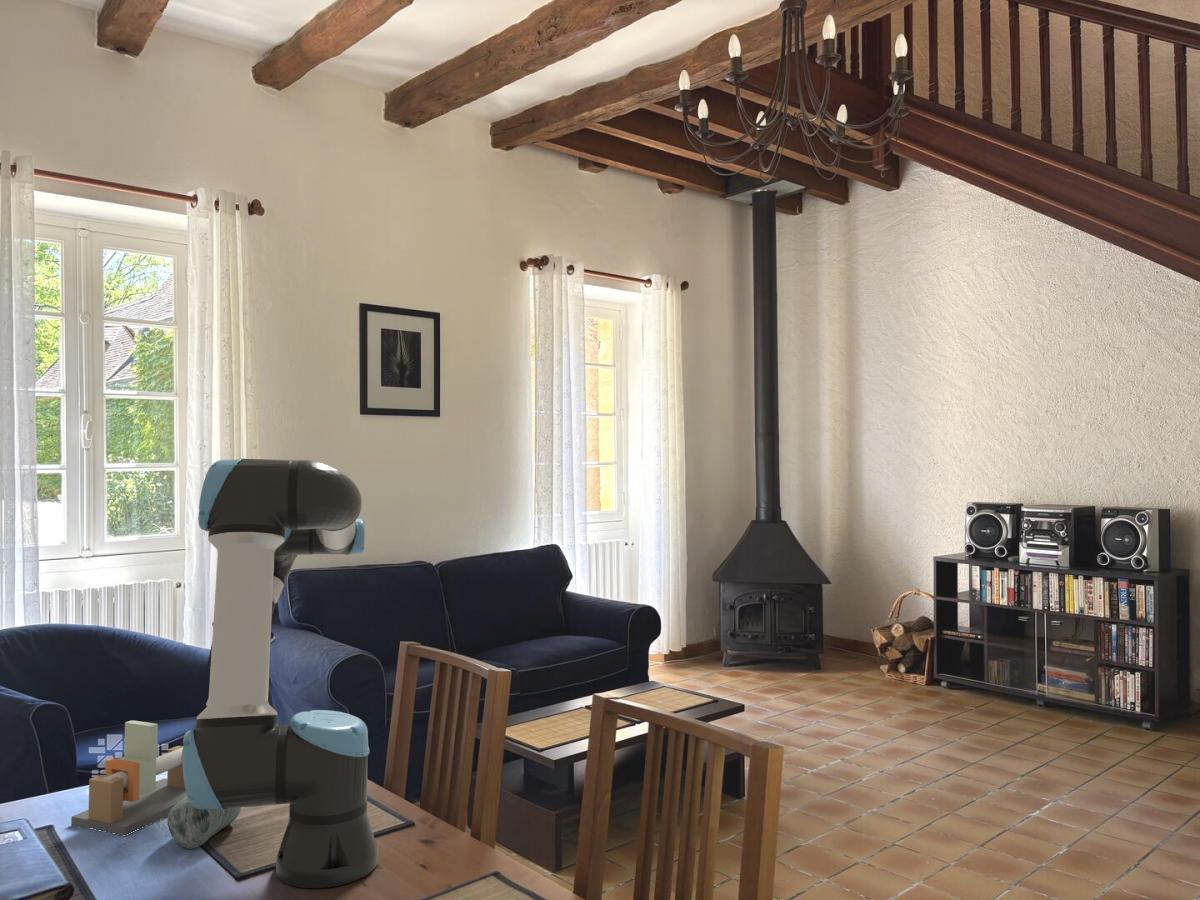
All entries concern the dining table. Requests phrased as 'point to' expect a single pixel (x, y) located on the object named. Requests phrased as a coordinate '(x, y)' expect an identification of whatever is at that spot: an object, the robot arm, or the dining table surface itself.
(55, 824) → the dining table surface
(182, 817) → the grey rounded lump
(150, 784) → the sleeve
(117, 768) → the ring
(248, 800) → the robot arm
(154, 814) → the rig
